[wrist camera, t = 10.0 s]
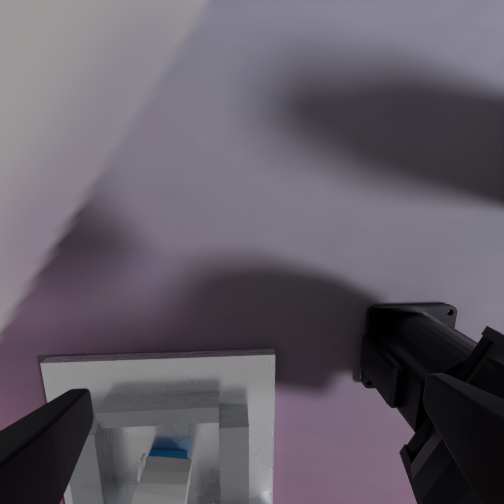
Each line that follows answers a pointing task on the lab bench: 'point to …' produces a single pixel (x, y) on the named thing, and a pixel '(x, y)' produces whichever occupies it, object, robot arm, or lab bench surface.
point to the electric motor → (163, 478)
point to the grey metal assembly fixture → (173, 421)
